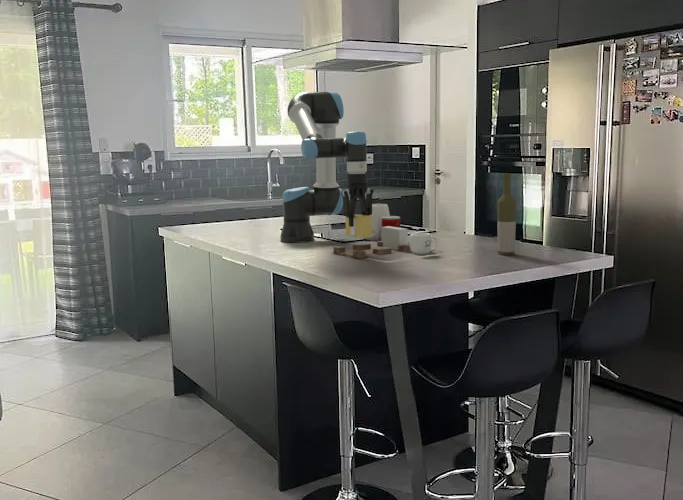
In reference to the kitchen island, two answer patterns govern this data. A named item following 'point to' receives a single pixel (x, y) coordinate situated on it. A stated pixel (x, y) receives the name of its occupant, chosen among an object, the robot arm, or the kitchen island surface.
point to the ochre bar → (360, 226)
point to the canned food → (391, 221)
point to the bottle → (506, 219)
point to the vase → (378, 220)
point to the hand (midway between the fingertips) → (358, 234)
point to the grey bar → (394, 237)
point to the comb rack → (367, 250)
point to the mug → (421, 243)
